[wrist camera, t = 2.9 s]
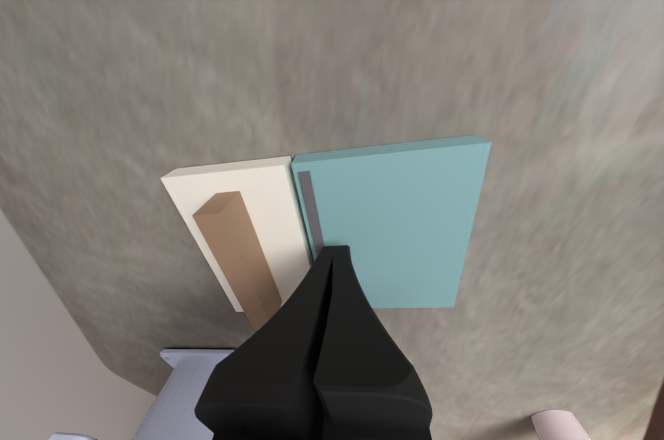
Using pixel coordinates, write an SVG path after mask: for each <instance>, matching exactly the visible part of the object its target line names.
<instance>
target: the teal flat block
mask: <svg viewBox="0 0 664 440" xmlns="http://www.w3.org/2000/svg"><path fill="white" fill-rule="evenodd" d="M491 143H492V142H490V141H489V140H487V139H485V138H483V137H481V136H480V135H469V136H460V137H451V138H443V139H434V140H425V141H416V142H407V143H398V144H389V145H380V146H371V147H362V148H353V149H344V150H335V151H326V152H317V153H308V154H299V155H296V157H295V158H294V160H293V161H292V163H291V165H292V170H293V174H294V178H295V182H296V187H297V191H298V195H299V199H300V203H301V208H302V212H303V216H304V220H305V225H306V229H307V233H308V237H309V241H310V246H311V250H312V254H313V258H314V261H315V259H316V257H317V256H318V254H319V252H320V250H321V248H322V247H323V246H339V245H348V246H349V247H350V253H351V261H352V265H353V268H354V271H355V273H356V276H357V279H358V281H359V283H360V286H361V288H362V290H363V292H364V294H365V296H366V298H367V300H368V302H369V304H370V305H371V307H372V308H427V307H454V304H455V300H456V296H457V291H458V287H459V283H460V278H461V274H462V270H463V265H464V261H465V256H466V252H467V248H468V243H469V239H470V235H471V230H472V226H473V221H474V217H475V213H476V208H477V204H478V200H479V195H480V191H481V186H482V182H483V178H484V173H485V169H486V165H487V160H488V156H489V152H490V147H491Z"/></svg>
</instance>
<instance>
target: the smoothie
mask: <svg viewBox="0 0 664 440" xmlns="http://www.w3.org/2000/svg"><path fill="white" fill-rule="evenodd" d="M531 419H532V422H533V425H534V427H535V430H536V432H537V435H538V438H539V440H592V439H591V438H590V437H589V435H588V434H587V433H586V431H585V430H584V429H583V427H582V426H581V425H580V423H579V422H578V421H577V419H576V418H575V417H574V415H573V414H572V413H571V412H568V411H564V410H547V411H542V412H538V413H536V414H534V415H533V416H532V417H531Z"/></svg>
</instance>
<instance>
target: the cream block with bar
mask: <svg viewBox="0 0 664 440" xmlns="http://www.w3.org/2000/svg"><path fill="white" fill-rule="evenodd" d="M291 163H292V162H291V158H290V156H287V157H278V158H269V159H260V160H251V161H242V162H233V163H224V164H215V165H206V166H197V167H188V168H179V169H175V170H174V171H172V172H170V173H168V174H167V175H165V176H163V177H162V178H161V180H162V182H163V184H164V186H165V187H166V189H167V191H168V193H169V194H170V196H171V198H172V200H173V201H174V203H175V205H176V207H177V208H178V210H179V212H180V214H181V215H182V217H183V219H184V221H185V222H186V224H187V226H188V228H189V230H190V231H191V233H192V235H193V237H194V238H195V240H196V242H197V244H198V245H199V247H200V249H201V251H202V252H203V254H204V256H205V258H206V259H207V261H208V263H209V265H210V267H211V268H212V270H213V272H214V274H215V275H216V277H217V279H218V281H219V282H220V284H221V286H222V288H223V289H224V291H225V293H226V295H227V296H228V298H229V300H230V302H231V303H232V305H233V307H234V309H235V311H236V312H244V313H245V315H246V317H247V318H248V320H249V322H250V324H251V326H252V328H253V330H259V329H260V328H261V327H262V326H263V325H264V324H265V323H266V322H267V321H268V320H269V319H270V318H271V317H272V316H273V315H274V314H275V313H276V312H277V311H278V310H279V309H280V308H281V307H282V306H283V304H284V303H285V302H286V301H287V300H288V298H289V297H290V296H291V295H292V293H293V292H294V291H295V290H296V288H297V287H298V285H299V284H300V283H301V281H302V280H303V278H304V277H305V275H306V274H307V272H308V271H309V269H310V268H311V266H312V264H313V263H314V258H313V254H312V250H311V246H310V241H309V237H308V233H307V229H306V225H305V220H304V216H303V212H302V208H301V203H300V199H299V195H298V191H297V187H296V182H295V178H294V174H293V170H292V165H291Z"/></svg>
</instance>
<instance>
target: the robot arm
mask: <svg viewBox="0 0 664 440" xmlns="http://www.w3.org/2000/svg"><path fill="white" fill-rule="evenodd" d="M160 356H161V357H162V358H163V359H164V360H165V361H166V362H167V363H168V364H169V365H170V366H171V367H172V368H173V369H174V370H173V371H172V373H171V375H170V376H169V378H168V380H167V381H166V383H165V385H164V386H163V388H162V390H161V391H160V393H159V395H158V396H157V398H156V400H155V402H154V403H153V405H152V407H151V408H150V410H149V412H148V413H147V415H146V417H145V418H144V420H143V422H142V423H141V425H140V427H139V428H138V430H137V432H136V433H135V435H134V437H133V439H132V440H432V438H431V434H430V429H429V427H430V423H431V419H432V408H431V405H430V402H429V399H428V396H427V394H426V391H425V389H424V387H423V385H422V383H421V381H420V379H419V377H418V375H417V373H416V371H415V369H414V367H413V365H412V364H411V363H410V362H409V360H408V359H407V358H406V357H405V355H404V354H403V353H402V352H401V350H400V349H399V348H398V346H397V345H396V344H395V342H394V341H393V340H392V338H391V337H390V335H389V334H388V333H387V331H386V329H385V328H384V326H383V325H382V323H381V322H380V320H379V319H378V317H377V316H376V314H375V312H374V311H373V309H372V307H371V305H370V304H369V302H368V300H367V298H366V296H365V294H364V292H363V290H362V288H361V286H360V283H359V281H358V279H357V276H356V273H355V271H354V268H353V265H352V261H351V253H350V247H349V246H348V245H339V246H323V247H322V248H321V250H320V252H319V254H318V256H317V257H316V259H315V261H314V263H313V264H312V266H311V268H310V269H309V271H308V272H307V274H306V275H305V277H304V278H303V280H302V281H301V283H300V284H299V285H298V287H297V288H296V290H295V291H294V292H293V293H292V295H291V296H290V297H289V298H288V300H287V301H286V302H285V303H284V304H283V306H282V307H281V308H280V309H279V310H278V311H277V312H276V313H275V314H274V315H273V316H272V317H271V318H270V319H269V320H268V321H267V322H266V323H265V324H264V325H263V326H262V327H261V328H260V329H259V330H258V331H257V332H256V333H255V334H253V335H252V336H251V337H250V338H249V339H248V340H247V341H246V342H244V343H243V344H242V345H241V346H240V347H238V348H237V349H236V350H210V349H163V350H162V351H161V352H160ZM48 440H97V439H95V438H93V437H90V436H87V435H84V434H75V433H60V432H56V433H54V434H52V436H51V437H50V438H49V439H48Z"/></svg>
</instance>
